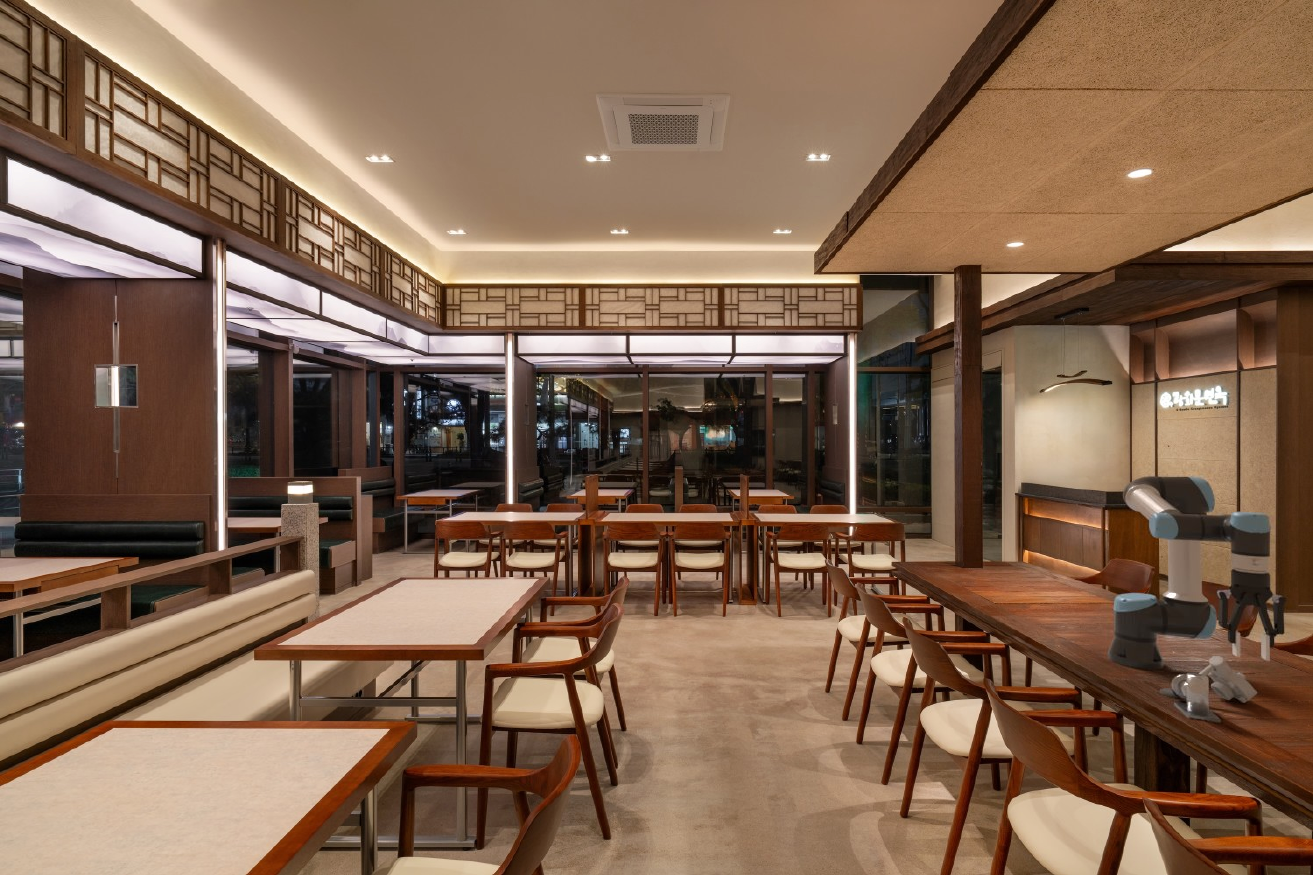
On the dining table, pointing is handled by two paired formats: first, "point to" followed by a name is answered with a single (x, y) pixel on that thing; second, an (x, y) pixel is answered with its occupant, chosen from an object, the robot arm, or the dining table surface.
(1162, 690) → the grey round disc
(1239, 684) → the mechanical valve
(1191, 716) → the elbow fitting
